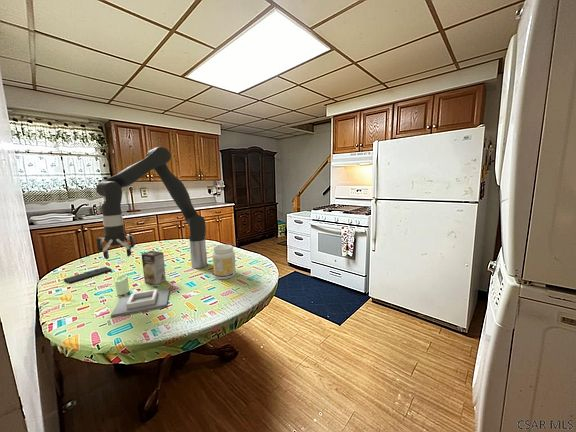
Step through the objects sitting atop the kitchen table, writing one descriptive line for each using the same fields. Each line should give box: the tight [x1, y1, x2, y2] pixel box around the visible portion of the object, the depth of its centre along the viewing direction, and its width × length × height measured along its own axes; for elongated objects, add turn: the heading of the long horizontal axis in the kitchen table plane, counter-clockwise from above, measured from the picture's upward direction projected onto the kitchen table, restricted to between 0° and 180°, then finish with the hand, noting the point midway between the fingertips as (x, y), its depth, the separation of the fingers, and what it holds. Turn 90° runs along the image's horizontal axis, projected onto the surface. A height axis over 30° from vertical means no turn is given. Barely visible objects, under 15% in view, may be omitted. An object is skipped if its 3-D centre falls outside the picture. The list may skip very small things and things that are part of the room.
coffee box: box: [141, 250, 167, 286], centre depth 125 cm, size 9×6×16 cm
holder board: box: [110, 288, 170, 318], centre depth 104 cm, size 20×16×3 cm
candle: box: [114, 274, 130, 296], centre depth 113 cm, size 5×5×8 cm
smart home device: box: [63, 266, 113, 285], centre depth 134 cm, size 8×2×20 cm
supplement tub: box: [212, 244, 237, 280], centre depth 131 cm, size 12×12×17 cm
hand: (118, 257), depth 111 cm, fingers open, 8 cm apart
